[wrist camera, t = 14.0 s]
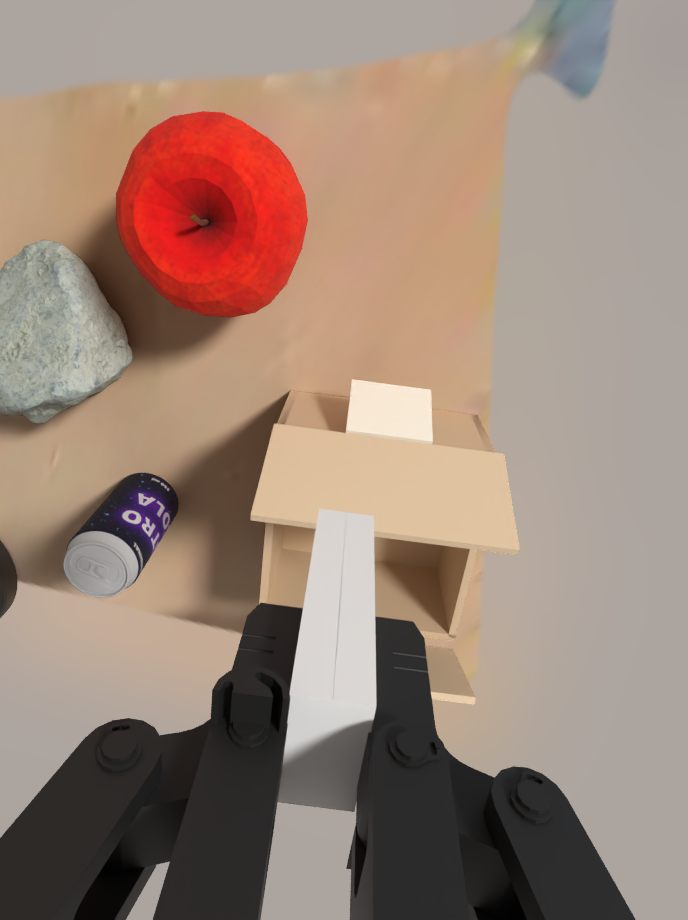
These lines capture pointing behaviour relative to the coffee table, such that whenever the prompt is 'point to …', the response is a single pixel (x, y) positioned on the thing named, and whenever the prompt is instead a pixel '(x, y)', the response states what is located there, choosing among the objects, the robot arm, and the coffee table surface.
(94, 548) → the beverage can
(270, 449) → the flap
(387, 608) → the carton
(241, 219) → the apple
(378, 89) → the coffee table surface
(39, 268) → the decorative stone
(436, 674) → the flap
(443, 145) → the coffee table surface
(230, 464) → the coffee table surface
